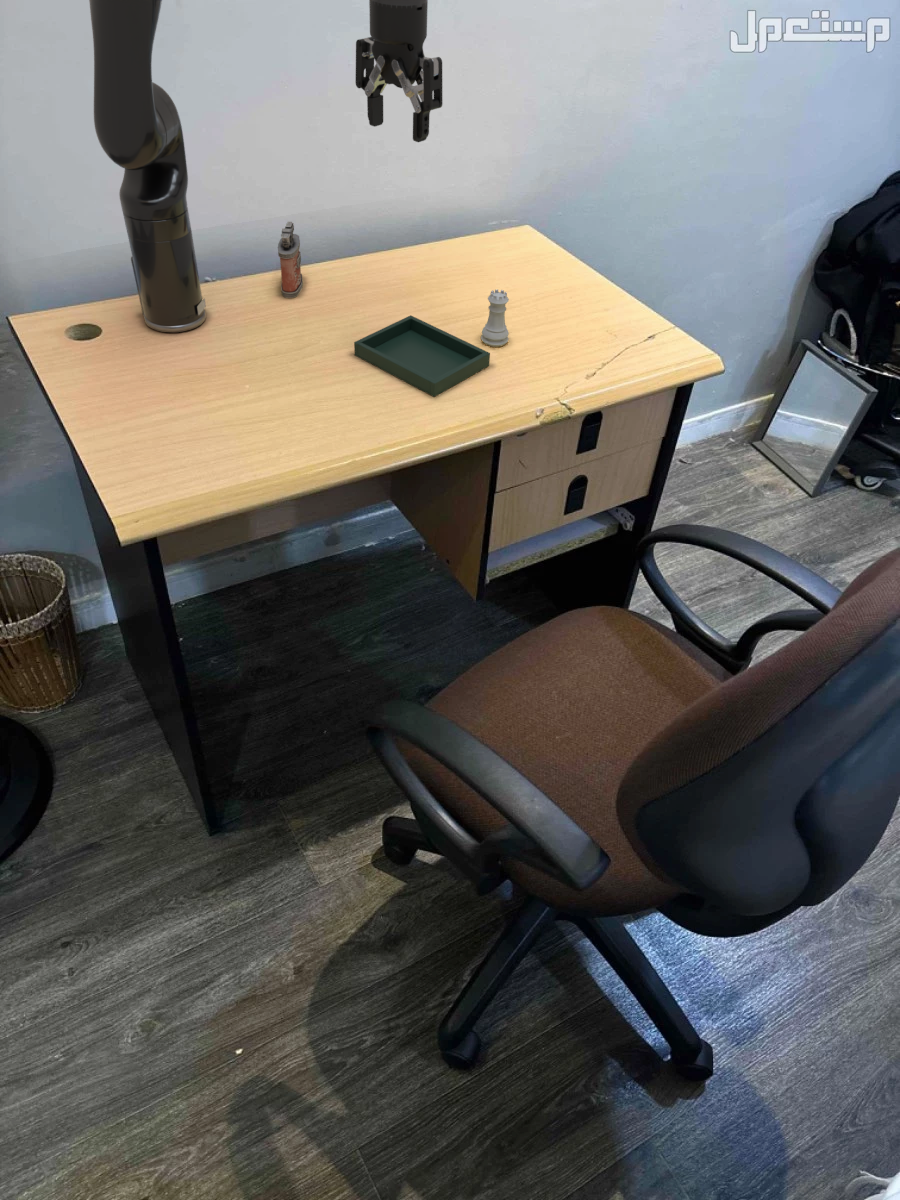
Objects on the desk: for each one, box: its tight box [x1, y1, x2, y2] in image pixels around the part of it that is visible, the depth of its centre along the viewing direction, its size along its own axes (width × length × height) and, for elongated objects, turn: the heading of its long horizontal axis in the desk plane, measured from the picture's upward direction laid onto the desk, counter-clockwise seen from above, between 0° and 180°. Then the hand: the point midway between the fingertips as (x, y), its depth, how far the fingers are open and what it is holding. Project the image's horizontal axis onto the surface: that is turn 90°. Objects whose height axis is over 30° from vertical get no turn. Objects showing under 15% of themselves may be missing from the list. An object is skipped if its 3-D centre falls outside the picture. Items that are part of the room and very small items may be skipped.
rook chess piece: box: [480, 289, 510, 348], centre depth 137 cm, size 4×4×8 cm
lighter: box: [277, 221, 304, 299], centre depth 146 cm, size 8×3×10 cm, turn 179°
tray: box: [353, 315, 491, 398], centre depth 134 cm, size 17×13×2 cm
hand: (397, 132), depth 124 cm, fingers open, 8 cm apart
